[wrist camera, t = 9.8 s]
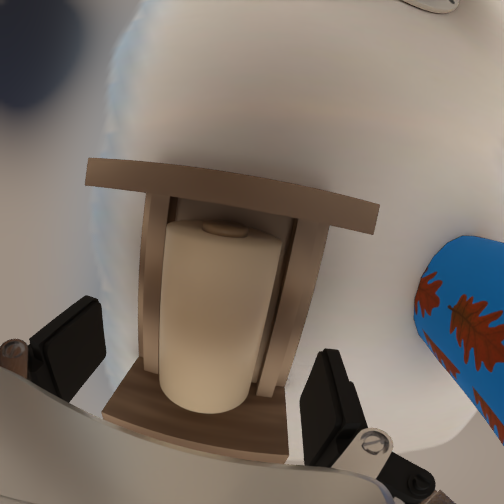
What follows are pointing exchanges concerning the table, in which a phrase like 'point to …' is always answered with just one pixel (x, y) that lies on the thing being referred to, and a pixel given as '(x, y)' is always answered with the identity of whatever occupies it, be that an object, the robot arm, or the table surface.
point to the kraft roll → (213, 311)
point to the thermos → (467, 320)
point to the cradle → (280, 307)
